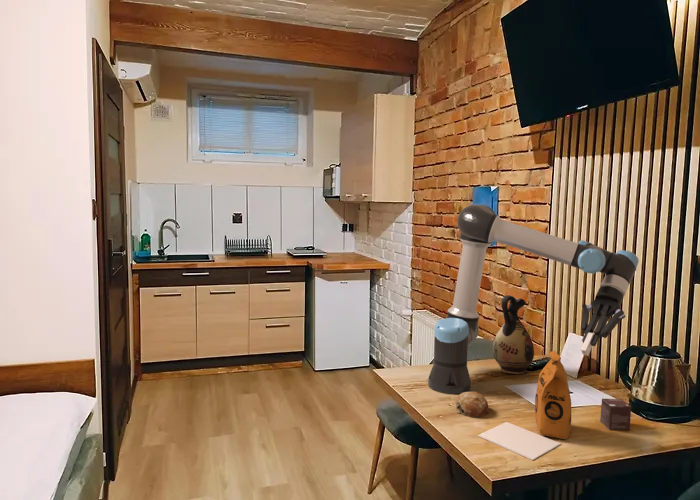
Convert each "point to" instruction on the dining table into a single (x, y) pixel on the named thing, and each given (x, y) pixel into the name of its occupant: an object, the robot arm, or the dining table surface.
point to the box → (615, 414)
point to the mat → (519, 440)
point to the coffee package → (553, 400)
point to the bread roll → (471, 404)
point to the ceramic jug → (513, 340)
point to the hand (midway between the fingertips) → (584, 352)
